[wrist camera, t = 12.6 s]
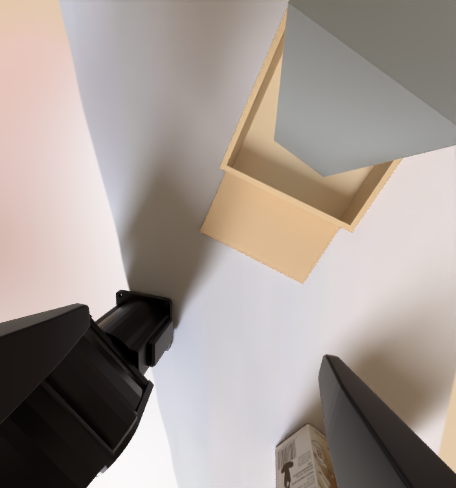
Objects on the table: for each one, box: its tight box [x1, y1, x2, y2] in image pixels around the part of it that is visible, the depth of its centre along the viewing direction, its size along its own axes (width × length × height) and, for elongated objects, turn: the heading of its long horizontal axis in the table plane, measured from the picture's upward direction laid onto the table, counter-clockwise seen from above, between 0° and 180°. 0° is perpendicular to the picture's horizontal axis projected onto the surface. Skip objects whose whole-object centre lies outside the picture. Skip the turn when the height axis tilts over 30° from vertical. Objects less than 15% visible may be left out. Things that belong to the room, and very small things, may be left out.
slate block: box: [274, 0, 456, 177], centre depth 10 cm, size 5×4×13 cm
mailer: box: [200, 6, 403, 284], centre depth 16 cm, size 11×17×3 cm, turn 155°
